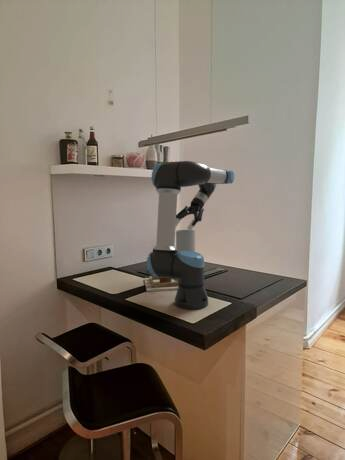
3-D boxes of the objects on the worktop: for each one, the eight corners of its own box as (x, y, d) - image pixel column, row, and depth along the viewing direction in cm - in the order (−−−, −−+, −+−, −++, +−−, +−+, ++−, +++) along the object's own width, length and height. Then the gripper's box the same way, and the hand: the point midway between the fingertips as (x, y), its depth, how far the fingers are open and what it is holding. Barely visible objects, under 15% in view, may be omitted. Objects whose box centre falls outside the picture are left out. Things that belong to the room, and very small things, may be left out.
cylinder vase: (187, 265, 215) (187, 229, 212) (199, 268, 204) (198, 231, 201) (172, 267, 208) (172, 230, 205) (183, 271, 198) (183, 232, 195)
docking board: (188, 289, 161) (188, 283, 161) (146, 291, 158) (146, 285, 158) (181, 277, 183) (181, 272, 182) (144, 279, 179) (144, 274, 179)
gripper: (218, 206, 175) (199, 235, 167) (187, 205, 194) (170, 231, 186) (211, 197, 171) (192, 226, 163) (181, 197, 190) (163, 223, 182)
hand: (180, 228), depth 175 cm, fingers open, 13 cm apart
